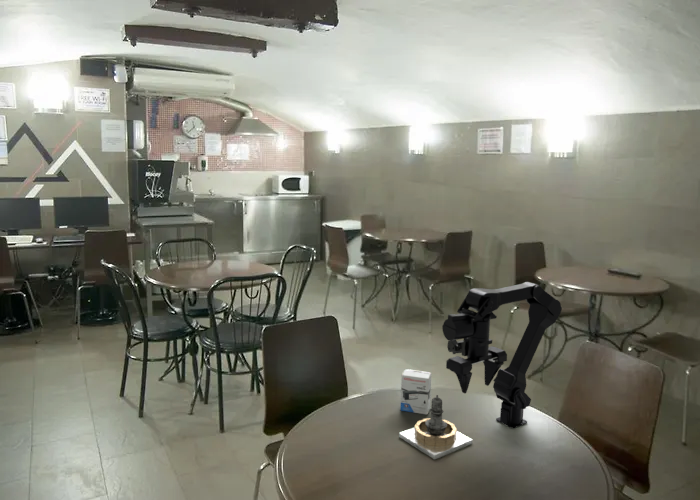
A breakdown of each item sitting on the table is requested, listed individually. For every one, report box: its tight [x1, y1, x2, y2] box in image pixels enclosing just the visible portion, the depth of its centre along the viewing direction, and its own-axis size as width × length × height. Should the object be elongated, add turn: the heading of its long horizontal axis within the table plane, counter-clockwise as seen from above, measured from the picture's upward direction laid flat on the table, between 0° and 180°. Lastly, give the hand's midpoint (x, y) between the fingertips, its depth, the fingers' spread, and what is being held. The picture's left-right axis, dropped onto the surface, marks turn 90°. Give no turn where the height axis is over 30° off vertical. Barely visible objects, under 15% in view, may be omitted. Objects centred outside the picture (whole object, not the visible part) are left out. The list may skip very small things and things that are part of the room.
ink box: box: [399, 368, 432, 415], centre depth 168 cm, size 8×5×12 cm, turn 72°
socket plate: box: [398, 417, 473, 460], centre depth 150 cm, size 14×14×4 cm
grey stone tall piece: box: [425, 394, 447, 436], centre depth 149 cm, size 6×6×12 cm
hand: (475, 389), depth 153 cm, fingers open, 9 cm apart
